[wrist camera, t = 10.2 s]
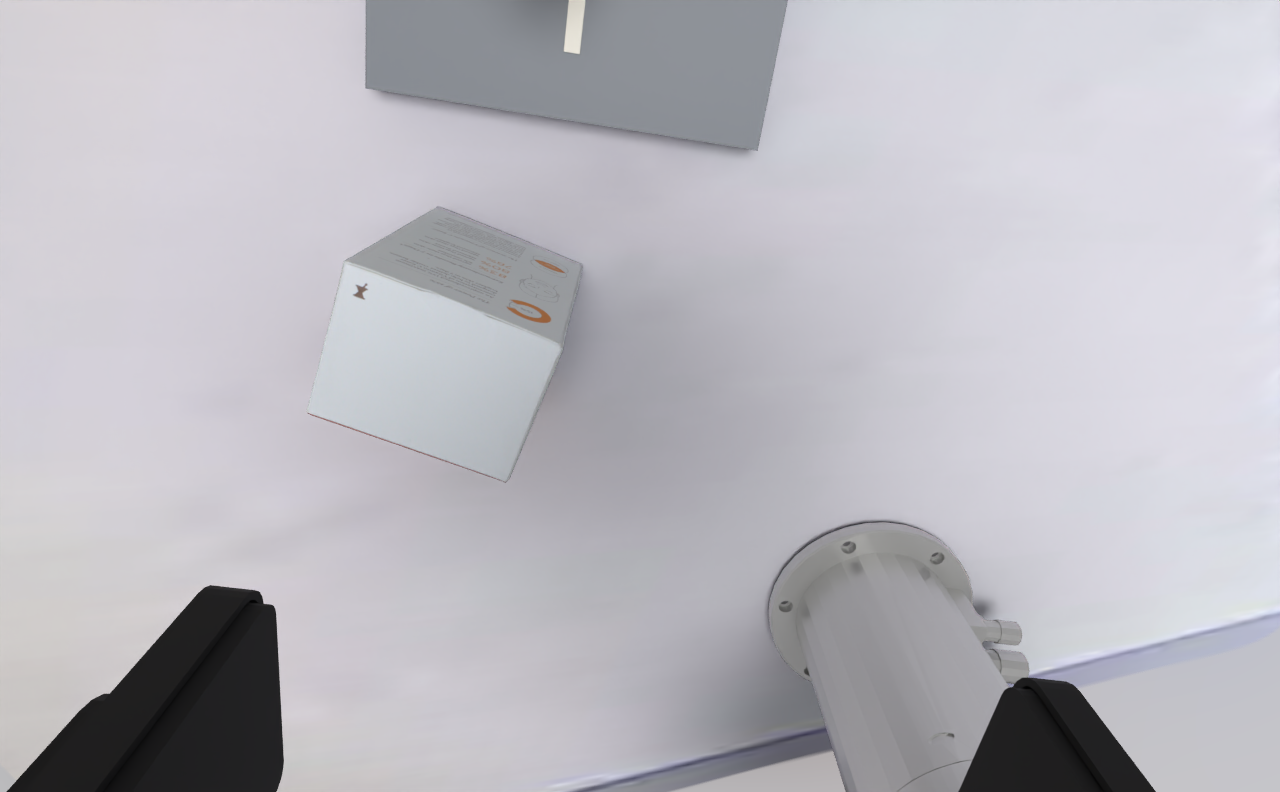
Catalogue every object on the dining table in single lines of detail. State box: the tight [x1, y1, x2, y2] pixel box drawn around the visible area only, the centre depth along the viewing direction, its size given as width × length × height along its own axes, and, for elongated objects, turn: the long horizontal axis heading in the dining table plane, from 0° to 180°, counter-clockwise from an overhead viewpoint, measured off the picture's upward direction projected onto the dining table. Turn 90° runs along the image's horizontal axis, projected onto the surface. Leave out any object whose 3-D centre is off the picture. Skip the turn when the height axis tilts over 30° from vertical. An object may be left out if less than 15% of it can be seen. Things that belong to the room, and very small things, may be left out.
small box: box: [306, 207, 582, 482], centre depth 32 cm, size 8×6×13 cm
